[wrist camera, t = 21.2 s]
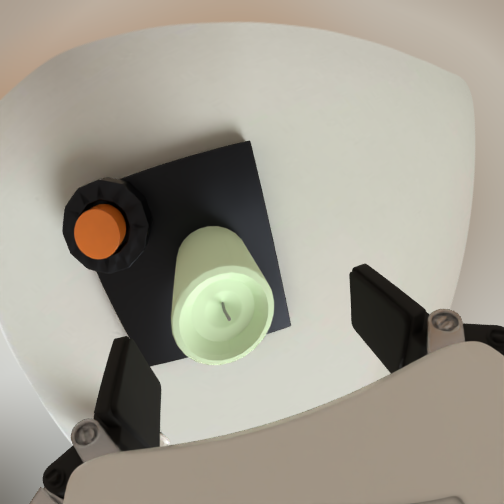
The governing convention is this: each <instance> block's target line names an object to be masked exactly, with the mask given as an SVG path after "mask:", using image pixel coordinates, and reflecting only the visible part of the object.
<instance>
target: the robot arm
mask: <svg viewBox="0 0 504 504" xmlns="http://www.w3.org/2000/svg"><path fill="white" fill-rule="evenodd" d="M349 277H350V294H351V321H352V326H353V328H354V329H355V331H356V332H357V333H358V334H359V335H360V337H361V338H362V339H363V340H364V341H365V343H366V344H367V345H368V346H369V347H370V349H371V350H372V351H373V352H374V353H375V355H376V356H377V357H378V358H379V359H380V361H381V362H382V363H383V364H384V366H385V367H386V368H387V369H388V370H389V372H390V373H391V374H390V375H388V376H386V377H384V378H381V379H379V380H377V381H375V382H373V383H371V384H369V385H367V386H365V387H363V388H361V389H359V390H356V391H354V392H352V393H350V394H347V395H345V396H343V397H340V398H338V399H336V400H333V401H331V402H328V403H326V404H323V405H321V406H318V407H315V408H313V409H310V410H307V411H305V412H302V413H299V414H296V415H293V416H290V417H287V418H284V419H281V420H278V421H275V422H272V423H268V424H265V425H262V426H258V427H255V428H251V429H247V430H243V431H239V432H235V433H231V434H227V435H223V436H218V437H214V438H209V439H204V440H199V441H193V442H187V443H181V444H175V445H169V446H162V447H160V408H161V385H160V382H159V380H158V379H157V377H156V376H155V374H154V372H153V371H152V369H151V368H150V366H149V365H148V363H147V361H146V360H145V358H144V356H143V355H142V353H141V351H140V350H139V348H138V346H137V345H136V343H135V341H134V340H133V339H132V338H131V339H129V337H127V336H125V337H120V338H116V339H114V341H113V344H112V347H111V351H110V354H109V357H108V361H107V364H106V368H105V371H104V375H103V379H102V382H101V386H100V390H99V394H98V398H97V402H96V406H95V411H94V413H95V414H94V419H84V420H82V421H80V422H79V423H78V424H76V425H75V427H74V428H73V430H72V433H71V441H72V444H73V446H72V447H71V448H70V449H68V450H67V451H66V452H65V453H64V454H63V455H62V456H60V457H59V458H58V459H57V460H56V461H54V462H53V463H52V464H51V465H50V466H48V468H47V469H46V470H45V472H44V474H43V484H44V489H43V488H41V487H40V488H39V490H38V491H37V493H36V494H35V496H34V497H33V499H32V501H31V502H30V504H504V327H502V326H497V325H480V324H479V325H478V324H463V322H462V319H461V317H460V316H459V314H458V313H456V312H454V311H452V310H449V309H439V310H436V311H434V312H432V313H431V314H430V315H429V314H428V313H427V312H426V310H425V309H424V308H423V307H422V306H420V305H419V304H418V303H417V302H415V301H414V300H413V299H412V298H410V297H409V296H408V295H406V294H405V293H404V292H403V291H401V290H400V289H399V288H398V287H396V286H395V285H394V284H392V283H391V282H390V281H388V280H387V279H386V278H384V277H383V276H382V275H380V274H379V273H378V272H377V271H375V270H374V269H372V268H371V267H370V266H368V265H367V264H362V265H359V266H357V267H354V268H353V269H352V272H350V275H349Z"/></svg>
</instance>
